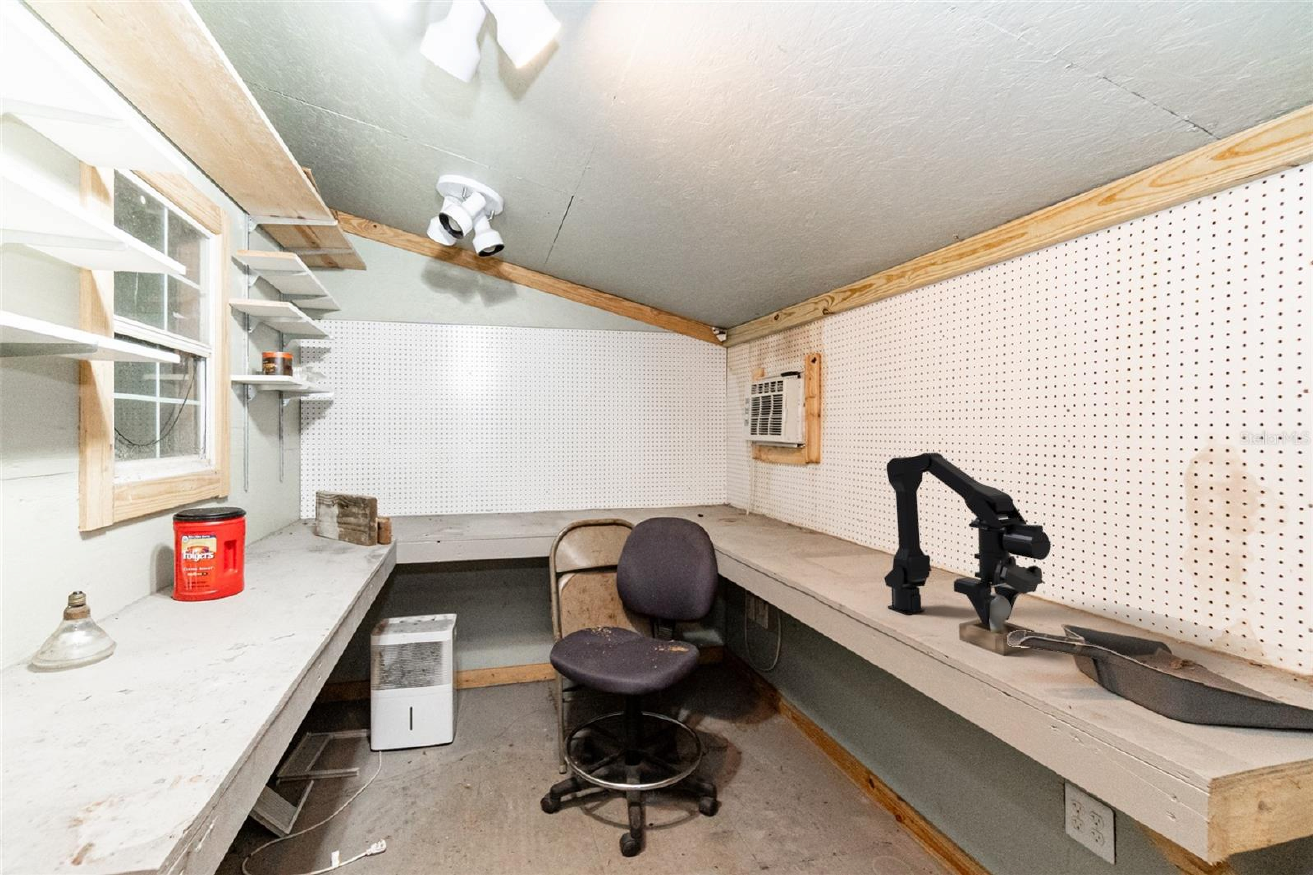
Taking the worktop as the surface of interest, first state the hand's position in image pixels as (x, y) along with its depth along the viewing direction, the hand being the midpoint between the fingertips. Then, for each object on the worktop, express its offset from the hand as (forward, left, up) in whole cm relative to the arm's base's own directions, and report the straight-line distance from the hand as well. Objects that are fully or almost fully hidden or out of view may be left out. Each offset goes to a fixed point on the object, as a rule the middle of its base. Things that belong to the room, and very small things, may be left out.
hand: (995, 622), depth 119 cm
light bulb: (0, 0, -4) cm, 4 cm away
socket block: (0, 0, -5) cm, 5 cm away
